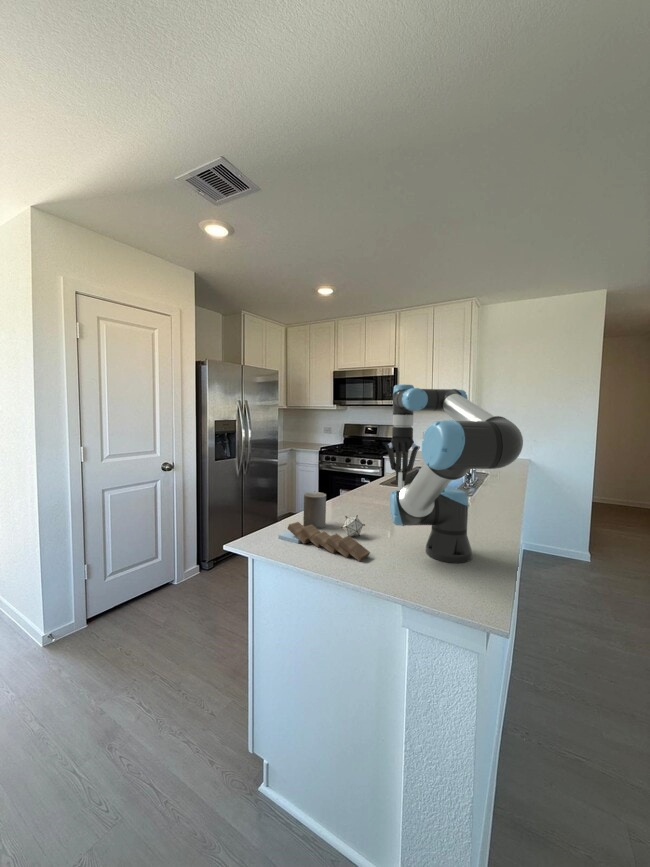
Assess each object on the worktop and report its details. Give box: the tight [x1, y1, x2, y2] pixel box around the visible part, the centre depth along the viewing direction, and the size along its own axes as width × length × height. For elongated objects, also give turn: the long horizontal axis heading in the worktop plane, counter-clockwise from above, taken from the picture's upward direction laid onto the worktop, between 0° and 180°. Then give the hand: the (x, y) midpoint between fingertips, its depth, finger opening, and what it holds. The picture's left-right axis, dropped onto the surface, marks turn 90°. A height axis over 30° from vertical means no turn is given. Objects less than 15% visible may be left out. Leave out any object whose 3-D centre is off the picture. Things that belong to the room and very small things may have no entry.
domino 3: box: [301, 525, 322, 548], centre depth 134 cm, size 2×5×10 cm
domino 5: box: [326, 533, 353, 559], centre depth 125 cm, size 2×5×10 cm
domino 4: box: [314, 531, 339, 555], centre depth 128 cm, size 2×5×10 cm
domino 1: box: [277, 531, 302, 545], centre depth 138 cm, size 2×5×10 cm
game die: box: [340, 514, 366, 537], centre depth 142 cm, size 9×8×10 cm
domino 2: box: [287, 521, 312, 545], centre depth 137 cm, size 2×5×10 cm
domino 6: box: [338, 535, 371, 563], centre depth 122 cm, size 2×5×10 cm
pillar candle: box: [302, 491, 327, 530], centre depth 154 cm, size 10×10×15 cm
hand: (401, 489), depth 135 cm, fingers closed
